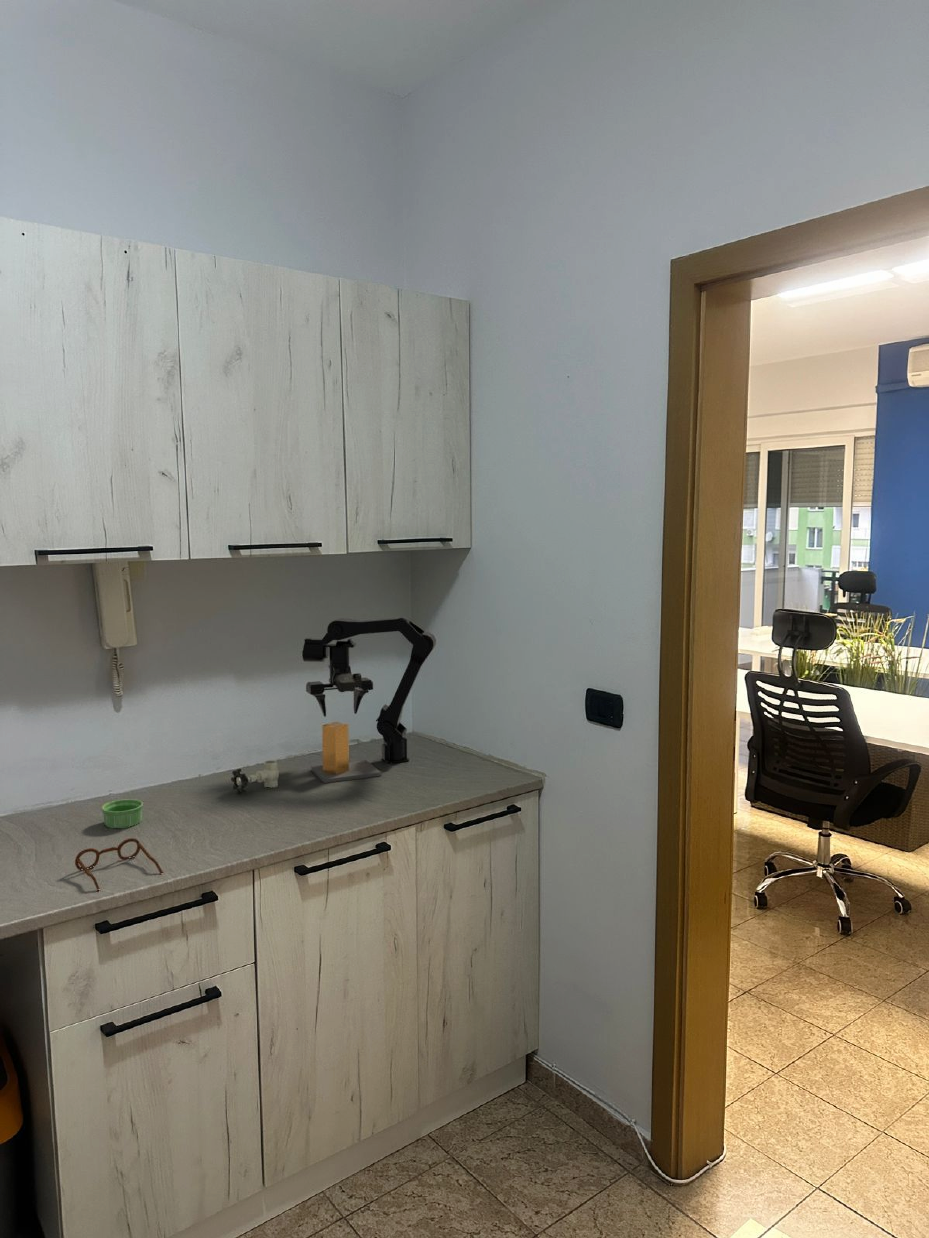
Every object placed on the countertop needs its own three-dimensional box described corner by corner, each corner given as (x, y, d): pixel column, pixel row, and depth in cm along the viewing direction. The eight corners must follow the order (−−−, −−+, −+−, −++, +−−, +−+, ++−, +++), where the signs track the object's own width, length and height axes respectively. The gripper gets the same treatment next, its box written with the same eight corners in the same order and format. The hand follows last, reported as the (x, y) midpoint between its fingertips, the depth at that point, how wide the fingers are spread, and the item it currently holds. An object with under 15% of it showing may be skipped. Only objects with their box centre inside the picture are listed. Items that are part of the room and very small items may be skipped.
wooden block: (336, 767, 249) (335, 721, 247) (348, 770, 246) (348, 724, 244) (323, 771, 245) (322, 725, 243) (335, 774, 242) (335, 728, 240)
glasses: (139, 857, 188) (138, 834, 188) (164, 876, 179) (163, 852, 178) (74, 874, 180) (73, 850, 179) (97, 894, 170) (96, 869, 169)
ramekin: (98, 831, 202) (97, 812, 202) (106, 818, 211) (105, 800, 210) (140, 828, 204) (139, 810, 203) (146, 815, 213) (145, 797, 212)
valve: (271, 781, 239) (231, 791, 231) (270, 757, 238) (230, 766, 230) (284, 787, 235) (244, 797, 226) (284, 762, 234) (243, 772, 225)
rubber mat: (365, 763, 256) (365, 760, 256) (381, 775, 244) (381, 772, 244) (311, 770, 249) (311, 766, 249) (324, 783, 238) (324, 779, 238)
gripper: (315, 669, 247) (316, 724, 248) (379, 664, 254) (379, 717, 256) (305, 662, 257) (306, 715, 259) (366, 658, 264) (367, 709, 266)
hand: (340, 714), depth 260 cm, fingers open, 9 cm apart
